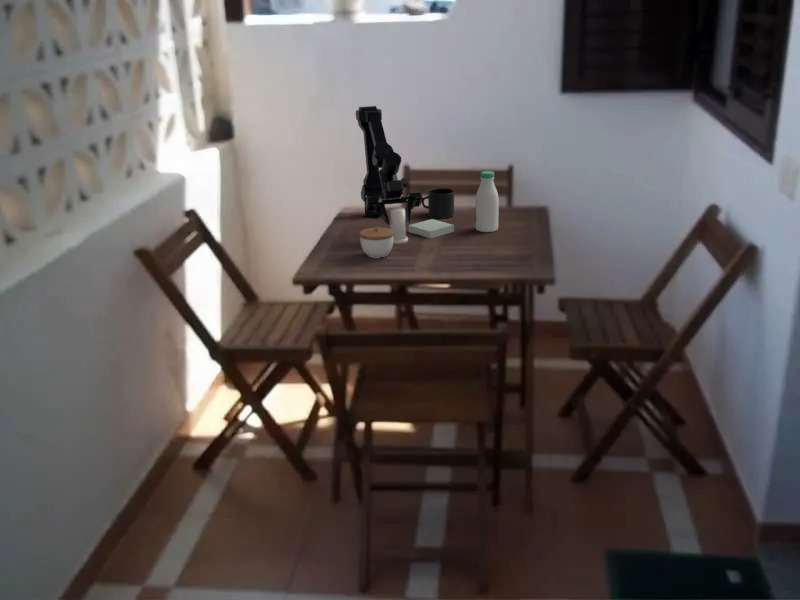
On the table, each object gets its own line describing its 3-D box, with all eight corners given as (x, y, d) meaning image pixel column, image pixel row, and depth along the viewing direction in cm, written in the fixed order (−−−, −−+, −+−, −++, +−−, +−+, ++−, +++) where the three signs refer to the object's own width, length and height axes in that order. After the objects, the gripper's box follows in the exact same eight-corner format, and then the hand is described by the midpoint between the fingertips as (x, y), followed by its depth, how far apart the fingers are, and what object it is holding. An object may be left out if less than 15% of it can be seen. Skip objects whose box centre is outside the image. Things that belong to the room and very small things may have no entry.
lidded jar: (355, 253, 278) (354, 225, 275) (386, 248, 282) (385, 220, 279) (367, 262, 269) (366, 233, 266) (399, 257, 273) (398, 228, 270)
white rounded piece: (385, 243, 288) (384, 210, 284) (393, 238, 293) (392, 206, 289) (403, 245, 285) (402, 212, 281) (411, 239, 291) (410, 207, 287)
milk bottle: (502, 229, 299) (503, 172, 292) (485, 233, 295) (485, 175, 288) (488, 225, 305) (488, 168, 298) (471, 229, 301) (471, 171, 294)
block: (408, 232, 299) (408, 225, 299) (432, 225, 306) (432, 219, 305) (430, 238, 292) (430, 231, 291) (453, 231, 298) (453, 225, 297)
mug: (424, 211, 325) (423, 187, 321) (456, 212, 322) (456, 188, 319) (419, 218, 316) (418, 193, 313) (452, 219, 313) (451, 194, 310)
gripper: (365, 172, 282) (374, 213, 276) (420, 167, 287) (430, 208, 281) (361, 190, 292) (370, 230, 286) (414, 185, 297) (424, 225, 291)
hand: (398, 223), depth 286 cm, fingers open, 7 cm apart
